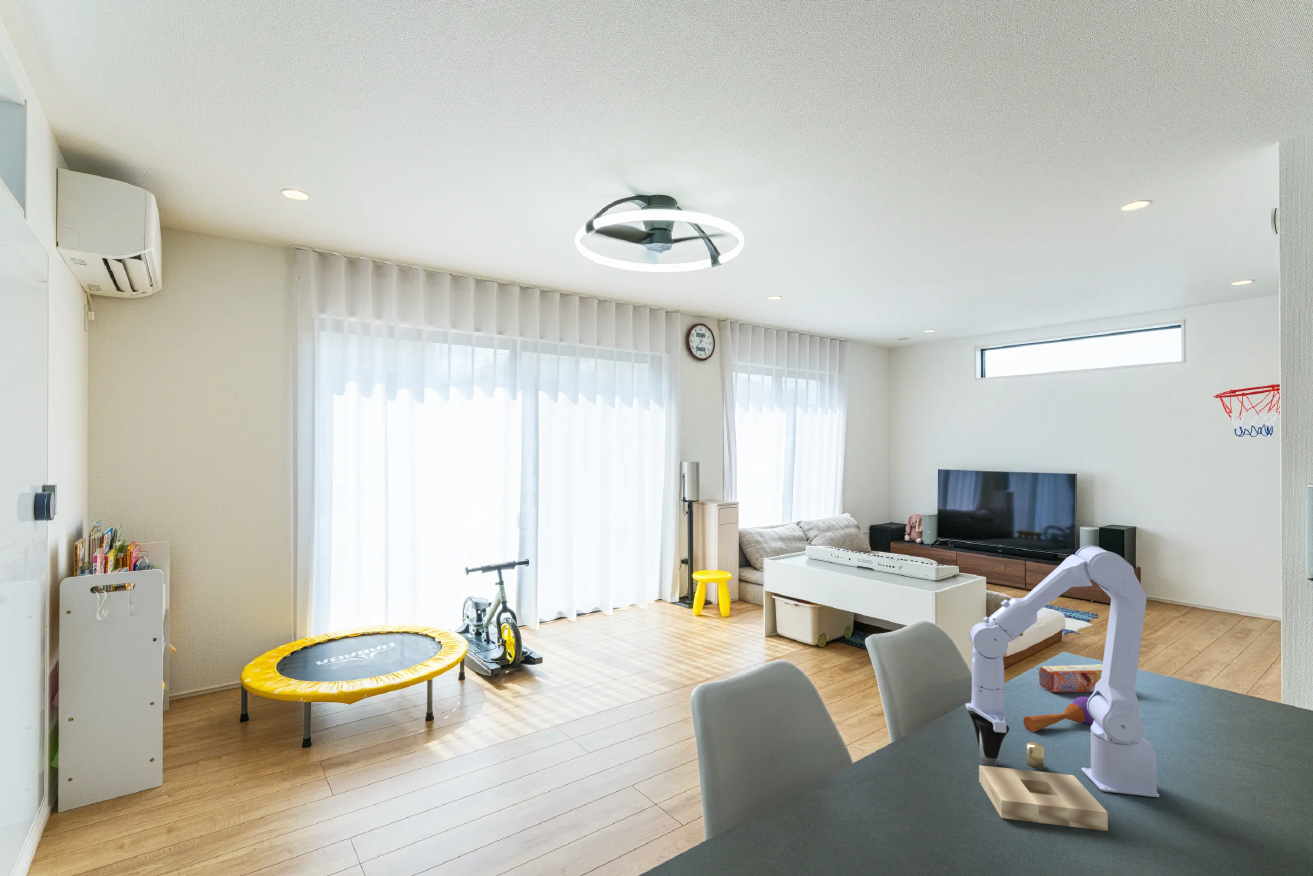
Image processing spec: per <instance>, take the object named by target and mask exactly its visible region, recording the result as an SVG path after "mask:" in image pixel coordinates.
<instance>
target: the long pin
mask: <svg viewBox="0 0 1313 876" xmlns="http://www.w3.org/2000/svg"><path fill="white" fill-rule="evenodd" d="M997 759H998V758H997ZM997 759H992V758H986V757H985V755H984V751H983V744H982V738H981V734H980V748H979V763H980V764H981V765H982V766H985V765H986V766H991V767H992V766H995V767H997V765H998V764H997V761H998V760H997Z"/></svg>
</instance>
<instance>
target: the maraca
mask: <svg viewBox="0 0 1313 876" xmlns="http://www.w3.org/2000/svg"><path fill="white" fill-rule="evenodd" d="M1089 697H1090V696H1089ZM1089 697H1088V696H1078V697H1076V698H1075V699H1074V700H1073V701H1072V702H1070V704H1068V706H1067V707H1066V708H1065V710H1064V712H1063V713H1053V714H1052V713H1051V714H1043V715H1042V714H1041V715H1031V716H1030V715H1029V716H1024V717H1023V726H1024V727H1025V729H1026V730H1028V731H1029V732H1032V733H1036V732H1038V731H1040V730H1043V729H1045V728H1047V727H1049V726H1052V725H1054V724H1057V723H1059V722H1061V721H1063V720H1069V721H1072V722H1075V723H1078V724H1081V723H1082V722H1083V723H1082V724H1084V723H1085V724H1084V725H1089V724H1091V725H1090V726H1092V724H1093V722H1094V719H1093V718H1092V717H1091V715H1090V714H1089V712H1088V710H1087V701H1088V699H1089Z"/></svg>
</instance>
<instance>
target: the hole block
mask: <svg viewBox="0 0 1313 876" xmlns="http://www.w3.org/2000/svg"><path fill="white" fill-rule="evenodd" d="M978 782H979V784H980V783H981V784H980V785H981V787H982V788H983V790H984V791H985V794H986V795H987V796H988V798H989V800H990V801H991V803H992V805H993V806H994V808H995V810H996V811H997V813H998V815H999V816H1000V818H1001V819H1006V820H1014V821H1022V822H1029V823H1030V822H1031V823H1036V824H1037V823H1038V824H1047V825H1056V826H1061V827H1063V826H1064V827H1071V828H1072V827H1073V828H1080V829H1087V830H1096V831H1104V832H1109V824H1108V823H1109V814H1108V810H1106V809H1105V808H1104V806H1103V805H1101V804H1100V802H1099V801H1098V800H1097V799H1096V798H1095V797H1094V796H1093V795H1092V793H1090V792H1089V791H1088V789H1087V788H1086V787H1085V786H1084V785H1083V784H1082V782H1081V781H1080V780H1079V779H1078V778H1077V777H1076V776H1075V775H1073V774H1064V773H1056V772H1048V771H1047V772H1045V771H1039V770H1037V771H1036V770H1028V769H1027V770H1025V769H1017V768H1010V767H1009V768H1008V767H1002V766H1001V767H999V766H995V767H991V766H985V765H983V764H981V765H978Z"/></svg>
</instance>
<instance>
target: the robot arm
mask: <svg viewBox="0 0 1313 876" xmlns="http://www.w3.org/2000/svg"><path fill="white" fill-rule="evenodd" d="M1091 581H1092V582H1094V583H1096V585H1098V586H1099V587H1100V589H1102V590H1103V592H1104V593H1106V595H1107V596H1108V597H1109V598H1110V606H1109V615H1108V622H1107V628H1106V637H1105V645H1104V653H1103V658H1102V659H1103V661H1102V664H1103V666H1102V674H1101V679H1100V680H1099V681H1098V682H1097V683H1096V684H1095V690H1094V692H1092V694H1091V695H1090V696H1089V699H1088V701H1087V710H1088V712H1089V714H1090V715H1091V717H1092V718H1093V719H1094V722H1093V724H1092V725H1090V768H1089V767H1081V771H1082V772H1083V773H1084V774H1085V776H1086V777H1087V778H1089V780H1091V782H1092V783H1094V785H1095V786H1096V787H1097V788H1098V790H1100V791H1101V792H1107V793H1116V794H1126V795H1135V796H1143V797H1151V798H1152V797H1153V798H1160V794H1159V792H1158V778H1157V777H1158V775H1157V773H1158V771H1157V769H1158V768H1157V765H1158V764H1157V762H1158V761H1157V756H1156V752H1155V750H1154V749H1155V748H1154V747H1153V745H1152V744H1151V742H1150V741H1149V740H1148V739H1147V738H1143V737H1142V736H1143V732H1144V725H1143V722H1142V720H1141V716H1140V708H1141V706H1140V704H1139V700H1138V697H1137V693H1136V683H1137V675H1138V667H1139V660H1140V653H1141V645H1142V644H1141V643H1142V636H1143V631H1144V630H1143V629H1144V621H1145V614H1146V607H1147V601H1148V599H1147V594H1146V592H1145V590H1144V588H1143V586H1142V584H1141V582H1140V581H1139V579H1138V577H1137V575H1136V574H1135V570H1134V566H1133V565H1132V564H1130V563H1129V562H1128V561H1127V560H1125V558H1123V557H1122V556H1121V555H1119V554H1117V553H1115V552H1112V551H1108V550H1105V549H1104V548H1102V547H1100V546H1098V545H1085V546H1082V547H1080V548H1079V549H1078V550H1077V551H1076V552H1075V554H1071V555H1069V556H1068V557H1066V558H1065V559H1064V560H1063V561H1062V562H1061V563H1060V564H1059V565H1058V566H1057V567H1056V568H1055V569H1053V571H1051V573H1049V574H1048V575H1047V576H1045V578H1044V579H1043V580H1042V581H1040V583H1038V584H1037V585H1036V586H1035V587H1034V588H1033V589H1032V590H1031V591H1030V592H1028V593H1027V594H1026V595H1025V596H1024V597H1022V598H1021V597H1012V598H1010V600H1007V599H1004V600H1002V601H1001V602H1000V604H1001V607H1000V608H999V609H997V610H996V611H995V612H993V613H992V614H990V616H989V617H988V616H985V617H983V618H982V622H978V623H976V624H975V625H974V626H972V628H971V629H970V633H968V635H969V640H970V641H971V643H972V645H973V646H972V653H971V654H972V659H971V702H970V703H969V702H967V703H965V709H966V710H967V712H968V715H969V716H970V719H971V721H972V723H973V727H974V732H975V735H976V740H977V745H978V748H979V749H980V734H981V738H982V744H983V751H984V755H985V757H986V758H992V759H998V757H999V754H1000V750H1001V747H1002V743H1003V740H1004V739H1005V737H1006V735H1007V734H1008V733H1009V732H1010V726H1009V725H1008V724H1007V722H1006V708H1005V664H1004V655H1005V654H1006V653H1007V650H1008V647H1009V643H1011V642H1013V641H1014V640H1015V639H1017V638H1018V637H1019V636H1020V635H1021V634H1023V633H1024V632H1025V631H1027V630H1028V629H1029V628H1031V626H1033V625H1034V624H1036V623H1037V621H1038V612H1039V611H1040V610H1042V609H1043V608H1044V607H1046V606H1047V605H1048V604H1050V603H1051V602H1054V600H1055V599H1057V598H1058V597H1059V596H1061V595H1062V594H1063V593H1065V592H1067V591H1069V590H1070V589H1071V588H1073V587H1075V588H1076V587H1078V588H1079V587H1080V588H1081V587H1092V586H1093V583H1092V582H1091Z"/></svg>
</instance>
